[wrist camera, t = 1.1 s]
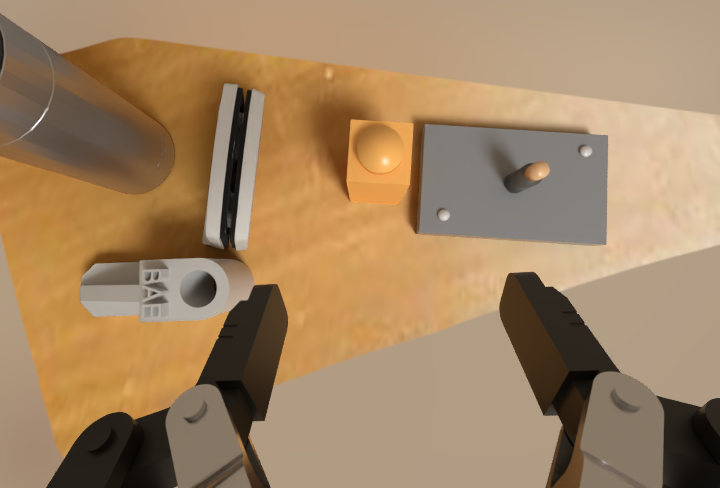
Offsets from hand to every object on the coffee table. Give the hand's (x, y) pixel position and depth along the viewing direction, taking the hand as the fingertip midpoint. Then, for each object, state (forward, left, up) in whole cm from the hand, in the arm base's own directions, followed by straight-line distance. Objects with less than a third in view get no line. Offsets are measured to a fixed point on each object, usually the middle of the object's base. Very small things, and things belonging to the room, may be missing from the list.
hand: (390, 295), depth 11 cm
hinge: (-15, +10, -24) cm, 30 cm away
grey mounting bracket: (-22, -3, -25) cm, 33 cm away
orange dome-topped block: (0, +11, -24) cm, 26 cm away
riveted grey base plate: (+15, +11, -24) cm, 30 cm away
